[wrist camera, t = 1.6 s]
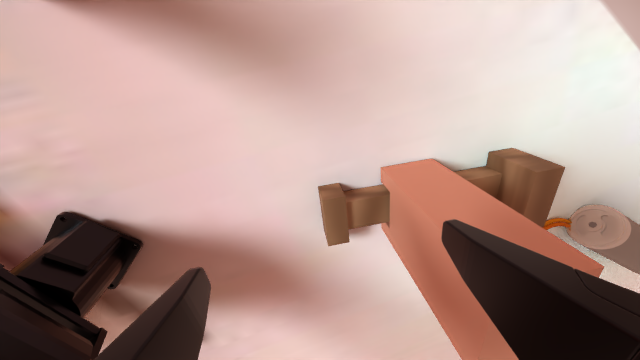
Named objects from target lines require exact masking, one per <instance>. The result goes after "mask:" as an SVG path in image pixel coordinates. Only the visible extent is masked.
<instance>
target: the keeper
mask: <svg viewBox="0 0 640 360" xmlns="http://www.w3.org/2000/svg"><path fill="white" fill-rule="evenodd" d="M381 182H382V183H383V185H384V186H385V187H386V188H387V189H388V190H389V192H390V222H385V223H381V224H382V230H383V231H384V233H385V234H386V236H387V238H388V239H389V241H390V243H391V244H392V246H393V248H394V249H395V251H396V252H397V254H398V256H399V257H400V259H401V261H402V262H403V264H404V266H405V267H406V269H407V270H408V272H409V274H410V275H411V277H412V279H413V280H414V282H415V283H416V285H417V287H418V288H419V290H420V292H421V293H422V295H423V297H424V298H425V300H426V301H427V303H428V305H429V306H430V308H431V310H432V311H433V313H434V315H435V316H436V318H437V319H438V321H439V323H440V324H441V326H442V328H443V329H444V331H445V333H446V334H447V336H448V337H449V339H450V341H451V342H452V344H453V346H454V347H455V349H456V350H457V352H458V354H459V355H460V357H461V359H462V360H519V359H518V358H517V356H516V355H515V353H514V352H513V351H512V349H511V348H510V346H509V345H508V344H507V342H506V341H505V339H504V338H503V336H502V335H501V334H500V332H499V331H498V329H497V328H496V326H495V325H494V324H493V322H492V321H491V319H490V318H489V316H488V315H487V314H486V312H485V311H484V309H483V308H482V307H481V305H480V304H479V302H478V301H477V299H476V298H475V297H474V295H473V294H472V292H471V291H470V289H469V288H468V287H467V285H466V284H465V282H464V281H463V279H462V277H461V276H460V274H459V272H458V270H457V269H456V267H455V265H454V263H453V261H452V260H451V258H450V256H449V254H448V253H447V251H446V249H445V247H444V245H443V243H442V240H441V236H442V227H443V222H444V221H446V220H452V219H456V220H459V221H461V222H464V223H466V224H469V225H471V226H474V227H476V228H478V229H481V230H483V231H486V232H488V233H491V234H493V235H495V236H498V237H500V238H503V239H505V240H508V241H510V242H512V243H515V244H517V245H520V246H522V247H525V248H527V249H529V250H532V251H534V252H537V253H539V254H542V255H544V256H546V257H549V258H551V259H554V260H556V261H559V262H561V263H564V264H566V265H568V266H571V267H573V269H578V270H581V271H583V272H586V273H588V274H590V275H593V276H595V277H598V278H599V276H600V274H601V272H602V270H603V268H604V266H602V265H601V264H599V263H597V262H596V261H594V260H593V259H591V258H589V257H588V256H586V255H585V254H583V253H582V252H580V251H578V250H577V249H575V248H574V247H572V246H570V245H569V244H567V243H566V242H564V241H562V240H561V239H559V238H558V237H556V236H554V235H553V234H551V233H550V232H548V231H547V230H545V229H543V228H542V227H540V226H539V225H537V224H535V223H534V222H532V221H531V220H529V219H527V218H526V217H524V216H523V215H521V214H520V213H518V212H516V211H515V210H513V209H512V208H510V207H508V206H507V205H505V204H504V203H502V202H500V201H499V200H497V199H496V198H494V197H493V196H491V195H489V194H488V193H486V192H485V191H483V190H481V189H480V188H478V187H477V186H475V185H473V184H472V183H470V182H469V181H467V180H465V179H464V178H462V177H461V176H459V175H458V174H456V173H454V172H453V171H451V170H450V169H448V168H446V167H445V166H443V165H442V164H440V163H438V162H437V161H435V160H434V159H426V160H421V161H415V162H409V163H403V164H398V165H392V166H386V167H381Z"/></svg>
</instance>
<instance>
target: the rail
mask: <svg viewBox="0 0 640 360" xmlns="http://www.w3.org/2000/svg"><path fill="white" fill-rule="evenodd" d="M564 169H565V167H563V166H561V165H558V164H555V163H553V162H550V161H547V160H544V159H542V158H539V157H536V156H533V155H531V154H528V153H525V152H522V151H520V150H517V149H514V148H509V149H503V150H498V151H492V152H489V154H488V159H487V165H486V166H483V167H478V168H472V169H466V170H461V171H455V172H454V173H456V174H458V175H459V176H461V177H462V178H464V179H465V180H467V181H469V182H470V183H472V184H473V185H475V186H477V187H478V188H480V189H481V190H483V191H485V192H486V193H488V194H489V195H491V196H493V197H494V198H496V199H497V200H499V201H500V202H502V203H504V204H505V205H507V206H508V207H510V208H512V209H513V210H515V211H516V212H518V213H520V214H521V215H523V216H524V217H526V218H527V219H529V220H531V221H532V222H534V223H535V224H537V225H539V226H540V227H544V225H545V222H546V219H547V217H548V214H549V211H550V208H551V205H552V203H553V200H554V197H555V194H556V191H557V188H558V186H559V183H560V180H561V177H562V174H563V172H564ZM318 190H319V197H320V204H321V211H322V218H323V225H324V231H325V235H326V239H327V242H328V246H332V245H337V244H342V243H347V242H349V232H348V229H353V228H359V227H364V226H369V225H374V224H380V223H385V222H390V192H389V190H388V189H387V188H386V187H385V186H384V185H383V184H382V185H377V186H371V187H366V188H360V189H354V190H349V191H343V190H342V188H341V186H340V184H339V183H336V184H330V185H324V186H318Z"/></svg>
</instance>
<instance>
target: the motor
mask: <svg viewBox="0 0 640 360" xmlns="http://www.w3.org/2000/svg"><path fill="white" fill-rule="evenodd" d="M554 222H556V223H554ZM562 222H565V223H562ZM551 223H552V224H551ZM555 226H565V227H566V231H567V233H568V234H569V236H570V237H571V238H572V239H573V240H574V241H576V242H578V243H579V244H581V245H583V246H585V247H587V248H589V249H591V250H593V251H595V252H597V253H599V254H600V255H602V256H604V257H606V258H608V259H610V260H612V261H614V262H616V263H618V264H620V265H622V266H623V267H625V268H627V269H629V270H631V271H633V272H635V273H638V274H640V225H638V224H637V223H635V222H634V221H632V220H631V219H629V218H628V217H626V216H625V215H623V214H622V213H620V212H619V211H617V210H615V209H613V208H611V207H608V206H604V205H588V206H583V207H581V208H580V209H578V210H577V211H576V212H575V213H574V214H573V215H572V216H571V217H570V218H569V220H567V219H563V218H555V219H551V220H548V221H546V222H545V225H544V227H542V228H543V229H545V230H548V229H550V228H552V227H555Z"/></svg>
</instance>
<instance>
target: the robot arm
mask: <svg viewBox="0 0 640 360" xmlns="http://www.w3.org/2000/svg"><path fill="white" fill-rule="evenodd" d="M64 217H65V218H66V219H65V218H64ZM441 240H442V243H443V245H444V247H445V249H446V251H447V253H448V254H449V256H450V258H451V260H452V261H453V263H454V265H455V267H456V269H457V270H458V272H459V274H460V276H461V277H462V279H463V281H464V282H465V284H466V285H467V287H468V288H469V289H470V291H471V292H472V294H473V295H474V297H475V298H476V299H477V301H478V302H479V304H480V305H481V307H482V308H483V309H484V311H485V312H486V314H487V315H488V316H489V318H490V319H491V321H492V322H493V324H494V325H495V326H496V328H497V329H498V331H499V332H500V334H501V335H502V336H503V338H504V339H505V341H506V342H507V344H508V345H509V346H510V348H511V349H512V351H513V352H514V353H515V355H516V356H517V358H518V359H519V360H640V293H637V292H634V291H631V290H629V289H626V288H623V287H621V286H618V285H615V284H613V283H610V282H608V281H605V280H603V279H600V278H598V277H595V276H593V275H590V274H588V273H586V272H583V271H581V270H578V269H573V267H571V266H568V265H566V264H564V263H561V262H559V261H556V260H554V259H551V258H549V257H546V256H544V255H542V254H539V253H537V252H534V251H532V250H529V249H527V248H525V247H522V246H520V245H517V244H515V243H512V242H510V241H508V240H505V239H503V238H500V237H498V236H495V235H493V234H491V233H488V232H486V231H483V230H481V229H478V228H476V227H474V226H471V225H469V224H466V223H464V222H461V221H459V220H456V219H452V220H446V221H444V222H443V227H442V236H441ZM135 245H137V246H135ZM142 246H143V243H142V242H141V241H140V240H137V239H135V238H132V237H130V236H127V235H125V234H122V233H120V232H117V231H115V230H112V229H110V228H107V227H105V226H102V225H100V224H97V223H94V222H92V221H89V220H87V219H84V218H82V217H79V216H77V215H74V214H72V213H69V212H62V213H60V214H59V215H58V216H57V217H56V219H55V221H54V223H53V225H52V227H51V229H50V232H49V234H48V236H47V238H46V240H45V242H44V245H43V246H42V247H41V248H40V249H38V250H37V251H36V252H34V253H33V254H32V255H31V256H29V257H28V258H27V259H25V260H24V261H23V262H21V263H20V264H19V265H18V266H16V267H15V268H14V269H12V270H11V271H10V272H9V271H8V270H6V269H4V268H3V267H4V266H3V265H2V264H0V360H198V356H199V352H200V348H201V344H202V340H203V336H204V331H205V325H206V319H207V312H208V305H209V298H210V291H211V284H210V281H209V279H208V277H207V275H206V273H205V271H204V269H203V268H202V267H198V268H192V269H189V270H188V271H187V272H186V273H185V274H184V275H183V276H182V277H181V278H180V279H178V280H177V281H176V282H175V283H174V284H173V285H172V286H171V287H170V288H169V289H168V290H167V291H166V292H165V293H164V294H163V295H162V296H161V297H159V298H158V299H157V300H156V301H155V302H154V303H153V304H152V305H151V306H150V307H149V308H148V309H147V310H146V311H145V312H144V313H143V314H142V315H140V316H139V317H138V318H137V319H136V320H135V321H134V322H133V323H132V324H131V325H130V326H129V327H128V328H127V329H126V330H125V331H124V332H123V333H121V334H120V335H119V336H118V337H117V338H116V339H115V340H114V341H113V342H112V343H111V344H110V345H109V346H108V347H107V348H106V349H105V350H103V351H102V352H101V353H100V354H99V352H100V349H101V347H102V344H103V342H104V339H105V337H106V334H107V331H106V330H105V329H103V328H98V327H97V326H95V325H94V324H92V323H90V322H89V321H87V320H86V319H84V317H85V316H86V315H87V314H88V312H89V311H90V310H91V308H92V307H93V306H94V305H95V303H96V302H97V301H98V299H99V298H100V297H101V295H102V294H103V293H104V292H105V290H106V289H107V288H108V289H115V288H116V287H117V286H118V284H119V283H120V281H121V280H122V278H123V276H124V275H125V273H126V272H127V270H128V268H129V267H130V265H131V264H132V262H133V260H134V259H135V257H136V256H137V254H138V252H139V251H140V249H141V247H142Z"/></svg>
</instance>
